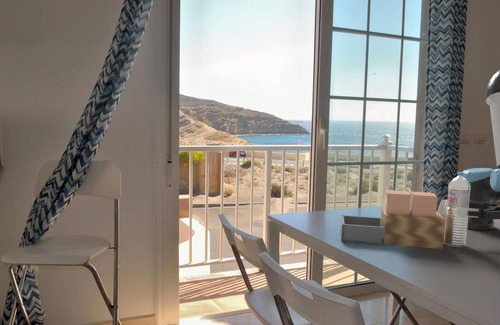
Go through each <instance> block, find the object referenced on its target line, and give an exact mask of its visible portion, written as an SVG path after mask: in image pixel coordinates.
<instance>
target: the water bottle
mask: <svg viewBox="0 0 500 325" xmlns="http://www.w3.org/2000/svg"><path fill="white" fill-rule="evenodd" d="M463 176H464V173H463V171H459V172H457V176H456V177H454V178H452V179H451V181H449V182H448V186H447V188H448V192H447V200H448V201H447V208H445V210H446V211H445V219H446V223H445V235H444V245H445V246H448V247H452V248H458V249H459V248H462V249H463V248H465V247H466V246H467V237H468V236H467V235H468V228H467V227H468V217H460V216H456V208H469V199H470V190H471V185H470V183H469V182H468V181H467V180H466V179H465V178H464V177H463Z"/></svg>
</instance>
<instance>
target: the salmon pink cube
mask: <svg viewBox="0 0 500 325" xmlns="http://www.w3.org/2000/svg"><path fill="white" fill-rule="evenodd" d="M409 194H410V195H411V196H410V210H409V212H410V213H411V214H412V215H414V216H428V217H436V211H437V209H438V207H437V206H438V195H436V194H435V193H434V192H428V191H427V192H425V191H423V192H422V191H412V190H411V191H409Z"/></svg>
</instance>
